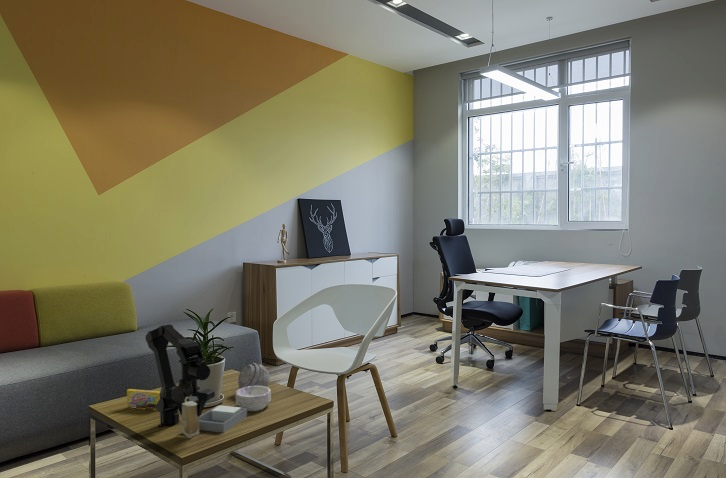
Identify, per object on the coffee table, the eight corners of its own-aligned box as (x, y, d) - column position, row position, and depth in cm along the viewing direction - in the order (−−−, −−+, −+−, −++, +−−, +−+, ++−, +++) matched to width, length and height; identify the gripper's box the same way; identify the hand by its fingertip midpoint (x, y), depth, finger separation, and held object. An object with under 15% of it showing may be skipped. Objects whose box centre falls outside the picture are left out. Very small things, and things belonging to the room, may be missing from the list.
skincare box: (181, 434, 204) (180, 403, 204) (192, 431, 208) (191, 400, 207) (189, 438, 200) (188, 406, 200) (200, 435, 203) (199, 404, 203)
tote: (192, 430, 208) (192, 420, 208) (217, 414, 225) (217, 405, 225) (223, 434, 204) (223, 423, 204) (247, 417, 221) (247, 408, 221)
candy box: (126, 408, 235) (126, 390, 235) (130, 407, 237) (129, 388, 237) (158, 411, 231) (158, 392, 231) (161, 409, 233) (161, 390, 233)
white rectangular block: (211, 420, 217) (211, 410, 217) (220, 414, 223) (219, 405, 223) (233, 422, 214) (233, 412, 214) (241, 417, 220) (241, 407, 220)
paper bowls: (263, 415, 224) (262, 396, 223) (229, 413, 227) (229, 395, 226) (276, 403, 239) (275, 386, 238) (244, 401, 242) (244, 384, 241)
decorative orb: (233, 393, 253) (232, 362, 253) (261, 387, 262) (260, 357, 261) (246, 401, 241) (246, 369, 241) (275, 395, 250) (274, 363, 250)
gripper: (155, 379, 198) (156, 420, 199) (198, 383, 193) (199, 425, 193) (173, 371, 209) (174, 410, 209) (215, 374, 203) (216, 415, 204)
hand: (190, 415), depth 203 cm, fingers closed on skincare box, 7 cm apart
